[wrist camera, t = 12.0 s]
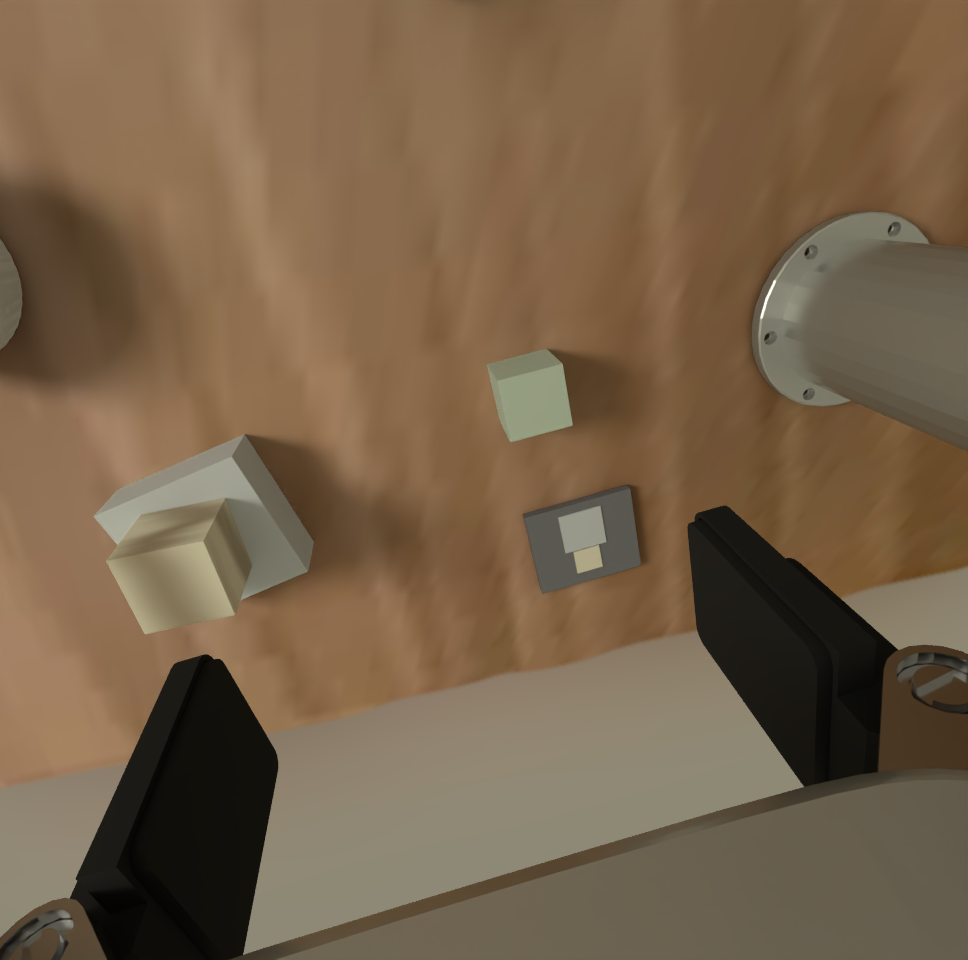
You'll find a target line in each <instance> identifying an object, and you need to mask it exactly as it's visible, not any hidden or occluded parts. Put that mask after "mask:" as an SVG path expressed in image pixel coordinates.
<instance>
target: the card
mask: <svg viewBox="0 0 968 960" xmlns="http://www.w3.org/2000/svg"><path fill="white" fill-rule="evenodd" d="M523 518H524V522H525V526H526V530H527V534H528V539H529V543H530V547H531V551H532V555H533V559H534V564H535V568H536V572H537V576H538V580H539V584H540V589H541V591H542V594H544V593H547V592H550V591H554V590H557V589H561V588H564V587H568V586H571V585H575V584H578V583H582V582H585V581H589V580H592V579H596V578H599V577H602V576H606V575H609V574H613V573H616V572H620V571H623V570H627V569H630V568H634V567H637V566H641V562H640V554H639V547H638V540H637V533H636V526H635V519H634V512H633V505H632V497H631V490H630V487H629V486H628V485H625V486H621V487H617V488H614V489H610V490H607V491H603V492H600V493H596V494H593V495H589V496H586V497H582V498H579V499H575V500H572V501H568V502H565V503H561V504H558V505H554V506H551V507H547V508H544V509H540V510H537V511H533V512H530V513H526V514H523Z"/></svg>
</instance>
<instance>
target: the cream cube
mask: <svg viewBox="0 0 968 960" xmlns="http://www.w3.org/2000/svg"><path fill="white" fill-rule="evenodd" d="M106 562H107V564H108V565H109V567H110V569H111V571H112V573H113V575H114V577H115V579H116V581H117V582H118V584H119V586H120V588H121V590H122V592H123V594H124V596H125V598H126V599H127V601H128V603H129V605H130V607H131V609H132V611H133V613H134V615H135V616H136V618H137V620H138V622H139V624H140V626H141V628H142V630H143V632H144V633H145V634H149V633H153V632H158V631H163V630H167V629H172V628H177V627H181V626H186V625H191V624H195V623H200V622H205V621H209V620H214V619H219V618H223V617H228V616H233V615H235V614H236V611H237V608H238V605H239V602H240V600H241V597H242V594H243V591H244V588H245V585H246V582H247V579H248V577H249V574H250V571H251V568H252V564H251V561H250V558H249V556H248V553H247V551H246V548H245V546H244V543H243V541H242V538H241V536H240V533H239V531H238V528H237V525H236V523H235V520H234V518H233V515H232V513H231V510H230V508H229V505H228V503H227V500H226V498H221V499H216V500H211V501H206V502H201V503H196V504H191V505H186V506H181V507H177V508H172V509H167V510H162V511H157V512H152V513H147V514H142V515H140V516H139V518H138V519H137V520H136V522H135V523H134V524H133V526H132V527H131V528H130V530H129V531H128V532H127V534H126V535H125V536H124V538H123V539H122V540H121V542H120V543H119V544H118V546H117V547H116V548H115V550H114V551H113V552H112V554H111V555H110V556H109V558H108V559H107V560H106Z"/></svg>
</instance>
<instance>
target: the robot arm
mask: <svg viewBox="0 0 968 960" xmlns="http://www.w3.org/2000/svg"><path fill="white" fill-rule="evenodd" d="M752 347H753V353H754V359H755V361H756V364H757V366H758V369H759V371H760V373H761V375H762V376H763V377H764V379H765V380H766V382H767V383H768V384H769V385H770V386H771V387H772V388H773V389H774V390H776V391H777V392H778V393H779V394H781V395H783V396H785V397H787V398H789V399H790V400H792V401H795V402H797V403H800V404H803V405H808V406H817V407H825V406H835V405H840V404H843V403H847V402H850V401H853V402H856V403H858V404H860V405H862V406H865V407H867V408H869V409H872V410H874V411H876V412H878V413H881V414H883V415H885V416H887V417H890V418H892V419H894V420H897V421H899V422H901V423H903V424H906V425H908V426H910V427H913V428H915V429H917V430H919V431H922V432H924V433H926V434H928V435H931V436H933V437H935V438H938V439H940V440H942V441H944V442H947V443H949V444H951V445H953V446H956V447H958V448H960V449H963V450H965V451H967V452H968V247H958V246H947V245H936V244H930V243H929V241H928V239H927V237H926V236H925V235H924V234H923V233H922V232H921V230H920V229H919V228H918V227H917V226H916V225H914V224H913V223H911V222H910V221H908V220H907V219H905V218H904V217H901V216H897V215H894V214H891V213H887V212H874V211H867V212H852V213H849V214H845V215H841V216H838V217H834V218H832V219H830V220H828V221H826V222H824V223H822V224H820V225H818V226H816V227H815V228H813V229H812V230H811V231H809V232H808V233H806V234H805V235H804V236H802V237H801V238H800V239H799V240H798V241H797V242H796V243H795V244H794V245H793V246H792V247H790V248H789V249H788V250H787V251H786V252H785V254H784V255H783V256H782V258H781V259H780V260H779V262H778V263H777V264H776V265H775V267H774V268H773V269H772V271H771V273H770V275H769V277H768V279H767V280H766V282H765V284H764V286H763V288H762V290H761V293H760V296H759V298H758V301H757V304H756V307H755V312H754V317H753V322H752ZM688 539H689V550H690V561H691V571H692V582H693V593H694V604H695V614H696V625H697V630H698V634H699V636H700V639H701V641H702V643H703V644H704V646H705V647H706V649H707V650H708V652H709V653H710V655H711V656H712V657H713V659H714V660H715V662H716V663H717V664H718V666H719V667H720V668H721V670H722V672H723V673H724V674H725V676H726V677H727V679H728V680H729V681H730V683H731V684H732V686H733V687H734V688H735V690H736V691H737V693H738V694H739V696H740V697H741V698H742V699H743V701H744V702H745V704H746V705H747V707H748V708H749V710H750V711H751V712H752V714H753V715H754V717H755V718H756V720H757V721H758V722H759V724H760V725H761V727H762V728H763V729H764V731H765V732H766V734H767V735H768V736H769V738H770V739H771V741H772V742H773V744H774V745H775V746H776V748H777V749H778V751H779V752H780V753H781V755H782V756H783V758H784V759H785V761H786V762H787V763H788V765H789V766H790V768H791V769H792V770H793V772H794V773H795V775H796V776H797V777H798V779H799V780H800V782H801V783H802V784H803V785H804V787H803V788H799V789H796V790H792V791H788V792H785V793H781V794H778V795H774V796H770V797H767V798H763V799H759V800H756V801H752V802H749V803H745V804H741V805H738V806H734V807H731V808H727V809H723V810H720V811H716V812H713V813H710V814H706V815H703V816H700V817H696V818H693V819H689V820H686V821H683V822H679V823H676V824H672V825H669V826H666V827H663V828H659V829H656V830H652V831H649V832H645V833H642V834H639V835H635V836H632V837H628V838H625V839H622V840H618V841H615V842H612V843H608V844H605V845H601V846H598V847H595V848H591V849H588V850H585V851H581V852H578V853H574V854H571V855H568V856H564V857H561V858H558V859H555V860H551V861H548V862H545V863H541V864H538V865H535V866H531V867H528V868H525V869H521V870H518V871H515V872H512V873H508V874H505V875H501V876H498V877H495V878H492V879H488V880H485V881H482V882H478V883H475V884H472V885H468V886H465V887H462V888H459V889H455V890H452V891H449V892H445V893H442V894H439V895H436V896H432V897H429V898H425V899H422V900H419V901H416V902H412V903H409V904H406V905H402V906H399V907H396V908H393V909H390V910H386V911H383V912H380V913H377V914H373V915H370V916H367V917H364V918H360V919H358V920H354V921H351V922H348V923H344V924H341V925H338V926H334V927H332V928H328V929H325V930H321V931H318V932H315V933H312V934H308V935H305V936H302V937H299V938H295V939H292V940H289V941H286V942H283V943H280V944H276V945H273V946H270V947H266V948H263V949H260V950H257V951H254V952H251V953H248V954H245V955H243V952H244V947H245V941H246V937H247V931H248V926H249V920H250V915H251V910H252V905H253V900H254V894H255V889H256V884H257V878H258V873H259V868H260V862H261V857H262V852H263V847H264V841H265V836H266V831H267V825H268V820H269V815H270V809H271V804H272V799H273V794H274V788H275V783H276V778H277V772H278V758H277V754H276V751H275V749H274V747H273V746H272V744H271V742H270V741H269V739H268V737H267V735H266V734H265V732H264V730H263V729H262V727H261V725H260V723H259V722H258V720H257V718H256V717H255V715H254V713H253V712H252V710H251V708H250V706H249V705H248V703H247V701H246V700H245V698H244V696H243V695H242V693H241V691H240V689H239V688H238V686H237V684H236V683H235V681H234V679H233V678H232V676H231V674H230V672H229V671H228V669H227V667H226V666H225V664H224V663H223V661H222V660H220V659H215V660H214V659H213V658H212V657H211V656H209V655H201V656H198V657H194V658H191V659H187V660H184V661H180V662H177V663H176V664H174V665H173V667H172V668H171V670H170V673H169V675H168V677H167V679H166V681H165V684H164V686H163V688H162V690H161V692H160V694H159V697H158V699H157V701H156V703H155V705H154V708H153V710H152V712H151V714H150V716H149V719H148V721H147V723H146V725H145V727H144V730H143V732H142V734H141V736H140V738H139V741H138V743H137V745H136V747H135V749H134V752H133V754H132V756H131V758H130V760H129V763H128V765H127V767H126V769H125V772H124V774H123V776H122V778H121V780H120V782H119V785H118V787H117V789H116V791H115V793H114V796H113V798H112V800H111V802H110V804H109V807H108V809H107V811H106V813H105V815H104V817H103V820H102V822H101V824H100V826H99V828H98V831H97V833H96V835H95V837H94V840H93V842H92V844H91V846H90V848H89V851H88V853H87V855H86V857H85V859H84V862H83V864H82V866H81V868H80V870H79V872H78V875H77V877H76V880H77V883H76V886H75V888H74V890H73V892H72V895H71V897H70V899H68V898H62V899H58V900H53V901H50V902H48V903H46V904H44V905H42V906H40V907H38V908H36V909H34V910H32V911H31V912H30V913H28V914H27V915H25V916H24V917H23V918H21V919H20V920H19V921H17V922H16V923H15V924H14V925H13V926H12V927H11V928H10V929H9V930H8V931H7V932H6V933H5V934H4V935H3V936H1V937H0V960H968V654H966V653H964V652H962V651H958V650H955V649H951V648H947V647H943V646H933V645H918V646H908V647H906V648H903V649H901V650H898V649H897V648H896V647H894V646H893V645H892V644H891V643H890V642H889V641H888V640H887V639H885V638H884V637H883V636H882V635H881V634H880V633H879V632H877V631H876V630H875V629H874V628H873V627H872V626H871V625H870V624H868V623H867V622H866V621H865V620H864V619H863V618H862V617H861V616H859V615H858V614H857V613H856V612H855V611H854V610H852V609H851V608H850V607H849V606H848V605H847V604H846V603H845V602H844V601H842V600H841V599H840V598H839V597H838V596H837V595H836V594H835V593H833V592H832V591H831V590H830V589H829V588H828V587H827V586H826V585H824V584H823V583H822V582H821V581H820V580H819V579H818V578H817V577H815V576H814V575H813V574H812V573H811V572H810V571H809V570H807V569H806V568H805V567H804V566H803V565H802V564H801V563H799V562H798V561H796V560H795V559H792V558H786V559H785V558H784V557H783V556H782V555H781V554H780V553H779V552H778V551H777V550H775V549H774V548H773V547H772V546H771V545H770V544H769V543H768V542H767V541H766V540H764V539H763V538H762V537H761V536H760V535H759V534H758V533H757V532H756V531H754V530H753V529H752V528H751V527H750V526H749V525H748V524H747V523H746V522H745V521H743V520H742V519H741V518H740V517H739V516H738V515H737V514H736V513H735V512H734V511H732V510H731V509H730V508H729V507H727V506H720V507H717V508H713V509H710V510H706V511H703V512H700V513H697V514H696V515H695V522H692V523H689V524H688Z"/></svg>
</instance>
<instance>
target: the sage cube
mask: <svg viewBox="0 0 968 960" xmlns="http://www.w3.org/2000/svg"><path fill="white" fill-rule="evenodd" d="M487 366H488V371H489V375H490V380H491V384H492V389H493V393H494V398H495V402H496V406H497V411H498V415H499V420H500V422H501V424H502V426H503V428H504V430H505V432H506V434H507V436H508V438H509V440H510V442H513V441H517V440H520V439H524V438H528V437H532V436H535V435H539V434H543V433H547V432H550V431H554V430H558V429H562V428H565V427H569V426H573V424H572V418H571V412H570V406H569V400H568V394H567V388H566V382H565V376H564V369H563V364H562V363H561V362H560V361H559V360H558V359H557V358H556V357H555V356H554V355H553V354H552V353H551V352H550V351H549V350H548V349H543V350H540V351H536V352H532V353H528V354H524V355H521V356H517V357H513V358H509V359H505V360H501V361H498V362H494V363H490V364H487Z"/></svg>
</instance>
